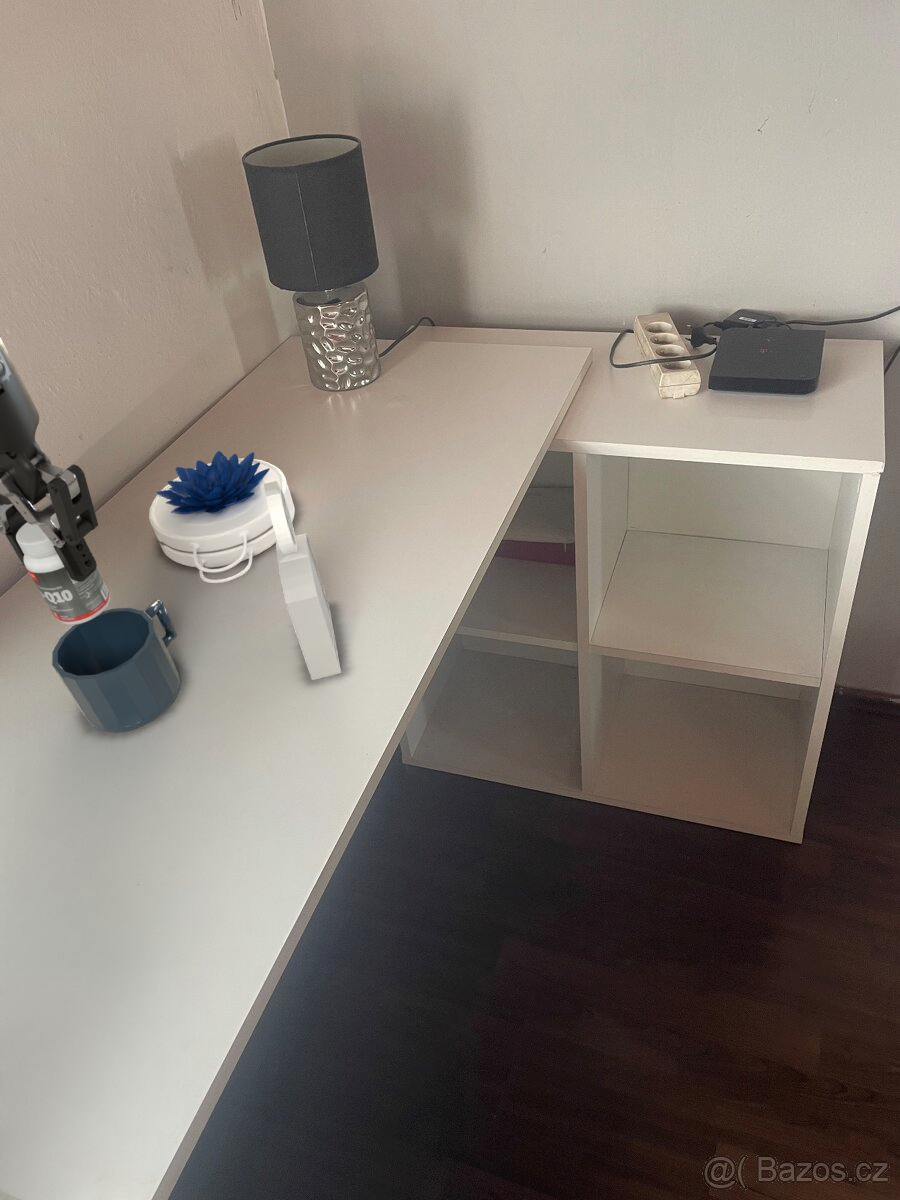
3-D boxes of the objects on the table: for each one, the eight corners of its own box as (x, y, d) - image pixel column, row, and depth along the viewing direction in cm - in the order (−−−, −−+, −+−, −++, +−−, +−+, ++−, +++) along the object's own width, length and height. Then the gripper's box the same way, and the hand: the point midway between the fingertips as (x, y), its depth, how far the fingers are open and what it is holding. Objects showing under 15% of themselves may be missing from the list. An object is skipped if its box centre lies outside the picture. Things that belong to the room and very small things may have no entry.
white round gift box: (146, 454, 101) (127, 556, 86) (278, 427, 101) (282, 523, 86) (166, 502, 105) (152, 607, 90) (292, 476, 106) (299, 576, 91)
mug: (137, 743, 76) (105, 689, 71) (64, 718, 80) (30, 665, 75) (216, 653, 83) (192, 599, 79) (147, 634, 87) (120, 581, 82)
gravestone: (329, 608, 86) (283, 453, 74) (341, 672, 79) (291, 513, 67) (302, 614, 86) (251, 461, 74) (312, 680, 79) (257, 521, 67)
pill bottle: (44, 621, 73) (-4, 542, 67) (80, 585, 76) (38, 507, 70) (87, 630, 71) (42, 550, 65) (123, 593, 74) (82, 514, 69)
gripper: (-155, 394, 60) (-33, 581, 71) (-16, 416, 54) (94, 616, 65) (-67, 345, 65) (35, 528, 76) (70, 361, 59) (158, 556, 70)
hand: (62, 568), depth 70 cm, fingers closed on pill bottle, 4 cm apart
